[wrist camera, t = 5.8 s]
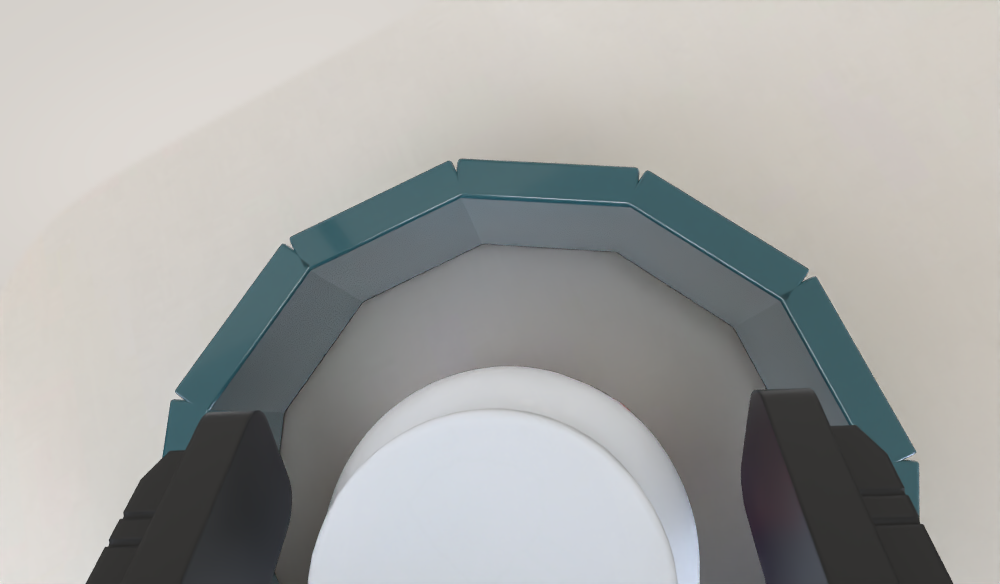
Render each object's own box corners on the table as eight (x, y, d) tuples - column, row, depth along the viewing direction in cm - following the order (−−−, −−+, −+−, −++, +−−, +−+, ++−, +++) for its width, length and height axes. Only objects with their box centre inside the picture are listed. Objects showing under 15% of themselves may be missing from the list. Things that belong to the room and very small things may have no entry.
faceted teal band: (203, 790, 17) (95, 899, 13) (280, 201, 19) (207, 144, 15) (835, 874, 16) (924, 1023, 12) (841, 233, 18) (918, 180, 14)
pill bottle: (694, 468, 17) (853, 522, 8) (570, 680, 17) (576, 1017, 7) (493, 342, 18) (414, 254, 9) (368, 540, 18) (138, 678, 8)
